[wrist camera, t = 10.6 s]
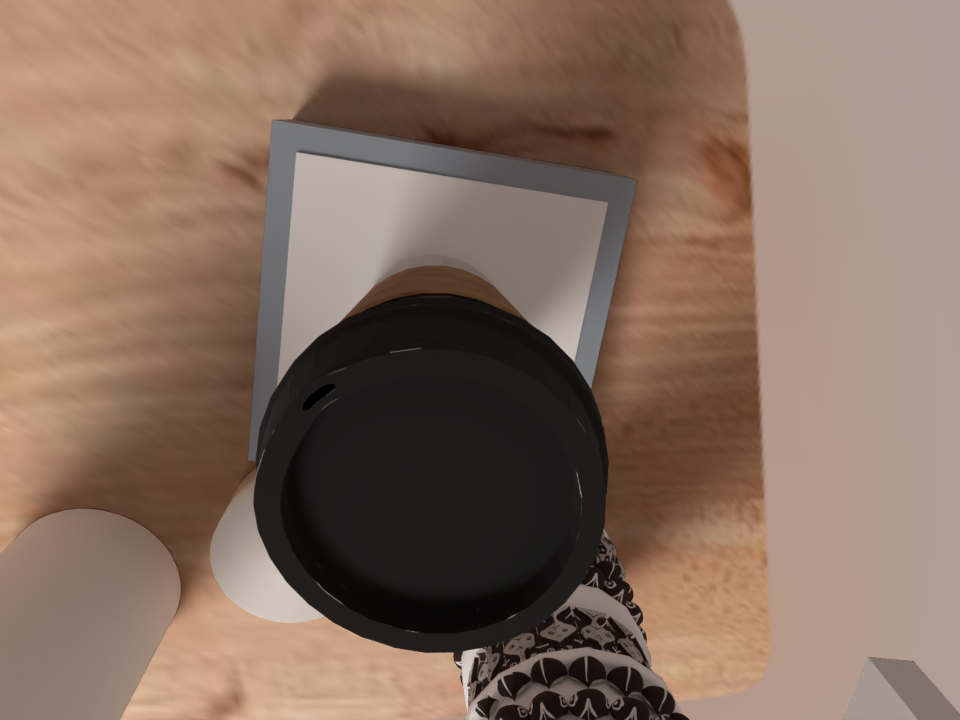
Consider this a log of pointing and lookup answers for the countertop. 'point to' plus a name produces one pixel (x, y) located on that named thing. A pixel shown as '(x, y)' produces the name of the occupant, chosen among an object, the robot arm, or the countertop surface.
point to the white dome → (252, 565)
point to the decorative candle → (573, 660)
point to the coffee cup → (432, 466)
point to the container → (81, 615)
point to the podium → (428, 236)
